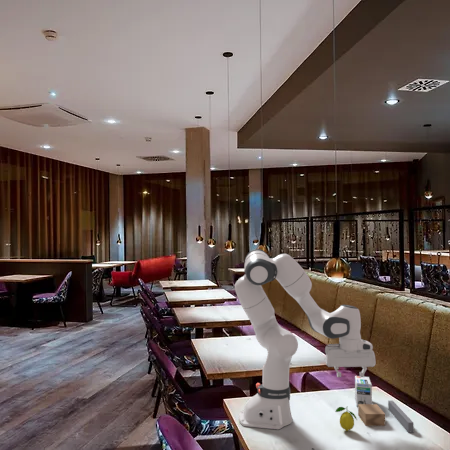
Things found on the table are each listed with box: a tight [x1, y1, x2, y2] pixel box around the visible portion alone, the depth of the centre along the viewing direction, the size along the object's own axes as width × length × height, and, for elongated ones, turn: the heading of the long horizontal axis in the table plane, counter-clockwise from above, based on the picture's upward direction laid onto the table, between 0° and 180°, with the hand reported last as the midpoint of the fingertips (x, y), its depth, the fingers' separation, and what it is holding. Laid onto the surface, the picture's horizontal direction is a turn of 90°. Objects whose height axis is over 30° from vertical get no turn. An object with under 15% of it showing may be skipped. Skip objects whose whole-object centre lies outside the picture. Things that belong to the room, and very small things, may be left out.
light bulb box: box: [354, 375, 373, 408], centre depth 203 cm, size 11×7×11 cm, turn 168°
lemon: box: [334, 406, 358, 432], centre depth 176 cm, size 7×6×10 cm
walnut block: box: [357, 403, 386, 427], centre depth 185 cm, size 8×10×5 cm
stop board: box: [387, 400, 414, 434], centre depth 185 cm, size 2×22×4 cm, turn 179°
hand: (350, 376), depth 186 cm, fingers open, 8 cm apart
